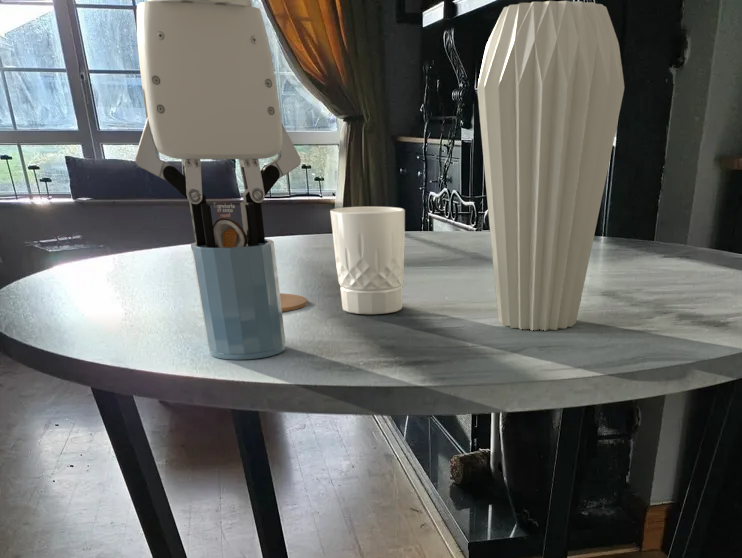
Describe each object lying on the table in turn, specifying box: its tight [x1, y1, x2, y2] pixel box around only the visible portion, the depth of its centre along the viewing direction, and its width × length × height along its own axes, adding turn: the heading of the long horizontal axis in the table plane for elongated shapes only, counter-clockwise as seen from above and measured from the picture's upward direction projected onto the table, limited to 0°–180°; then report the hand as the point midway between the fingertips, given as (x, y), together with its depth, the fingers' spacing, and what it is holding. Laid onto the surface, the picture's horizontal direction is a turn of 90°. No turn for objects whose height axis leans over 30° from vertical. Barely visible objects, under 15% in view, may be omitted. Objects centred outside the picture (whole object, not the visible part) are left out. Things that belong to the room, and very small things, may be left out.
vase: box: [476, 0, 625, 332], centre depth 74 cm, size 13×13×26 cm
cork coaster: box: [280, 292, 308, 313], centre depth 89 cm, size 10×10×1 cm
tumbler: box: [190, 238, 286, 361], centre depth 69 cm, size 7×7×9 cm
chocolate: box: [213, 202, 248, 248], centre depth 66 cm, size 3×2×4 cm
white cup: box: [329, 206, 406, 315], centre depth 85 cm, size 8×8×10 cm
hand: (231, 251), depth 67 cm, fingers closed on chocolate, 3 cm apart
